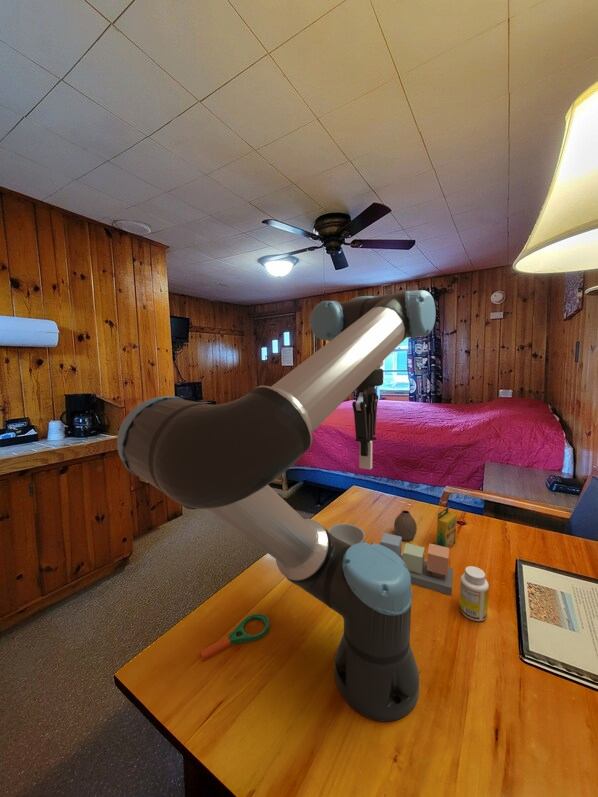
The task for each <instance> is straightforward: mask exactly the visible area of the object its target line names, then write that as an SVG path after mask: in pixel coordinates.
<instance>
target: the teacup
mask: <svg viewBox="0 0 598 797" xmlns="http://www.w3.org/2000/svg"><path fill="white" fill-rule="evenodd" d="M327 531H328V532H329V533H330V534H331V535H333V536H334V537H335V538H337V539H339V540H341V541H343V542H345V543H347V544H349V545H354V544H357V543H363V542H365V538H366V537H365V536H366V534H365V532H364V530H363V529H362V528H360V527H358V525H355V524H352V523H345V522H344V523H343V522H342V523H336V524H333V525H332V526H330V527H329V528H328V529H327Z"/></svg>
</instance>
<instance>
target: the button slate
mask: <svg viewBox="0 0 598 797" xmlns="http://www.w3.org/2000/svg"><path fill="white" fill-rule="evenodd" d="M379 542H380V543H379V545H382V546H384V547H386V548H388V549H390V550H392V551H393V552H395V553H396V554H397V555H398V556H399V557H400V555H402V543H403V540H402V537H400V536H397V535H396V534H391V533H386V532H384V533H383V535H382V537H381V540H380V541H379Z"/></svg>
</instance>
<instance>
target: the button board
mask: <svg viewBox="0 0 598 797" xmlns="http://www.w3.org/2000/svg"><path fill="white" fill-rule="evenodd" d="M400 558H401V559H402V560H403V554H401V555H400ZM409 573H410V577H411V585H415V586H419V587H422V588H424V589H428V590H431V591H436V592H438V593H443V594H446V595H449V596H452V594H453V593H452V592H453V580H454V578H453V577H454V567H453V568H452V567H449V566H448V576H446V575H443V574H439V573H435V572H432V571H428V570H427V560H424V566H423V571H422V574H419V573H415V572H412V571H409Z"/></svg>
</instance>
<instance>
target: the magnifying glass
mask: <svg viewBox="0 0 598 797" xmlns="http://www.w3.org/2000/svg"><path fill="white" fill-rule="evenodd" d="M255 620H259V621H260V622H262V623H264V624H263V625H264V628H263V629H262V631H261V632H259V633H257V634H249V633H247V632H246V631H245V627H246V625H247V624H248V623H249V622H251V621H255ZM269 630H270V620H269V618H268V616H266V615H265V614H262V613H253V614H251V615H248V616H246V617H244V619H243V620H241V622H240V623H239V624H238V625H237V626H236V627H235V628H234V630H233V631H231V633H230V634H229V635H228V636H225V637H223V638H222V639H220V640H218V641H216V642H215V643H212V644H211V645H209V646H207V647H204V648H203V649H201V650H199V655H200V659H201V660H202V661H205V660H207V659H209V658H211V657H212V656H214V655H216V654H218V653H220V652H221V651H224V650H226V649H228V648H229V647H231V646H233V645H235V644H241V643H247V642H253V641H254V642H255V641H258V640H260V639H262V638H263V637H264V636H266V635H267V634H268V633H269ZM238 635H240V636H238Z"/></svg>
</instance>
